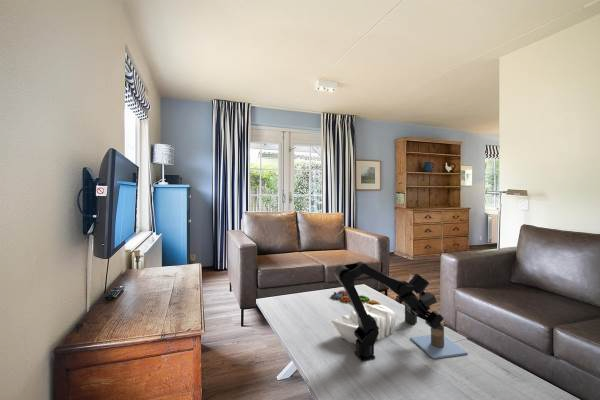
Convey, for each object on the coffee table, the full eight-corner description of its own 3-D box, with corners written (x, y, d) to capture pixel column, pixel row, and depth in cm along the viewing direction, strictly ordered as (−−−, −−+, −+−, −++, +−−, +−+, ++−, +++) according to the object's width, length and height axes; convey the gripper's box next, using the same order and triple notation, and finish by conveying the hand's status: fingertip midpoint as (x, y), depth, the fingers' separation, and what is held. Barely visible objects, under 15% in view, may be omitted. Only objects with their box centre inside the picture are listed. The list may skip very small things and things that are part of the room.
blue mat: (433, 359, 113) (433, 357, 113) (410, 339, 129) (410, 337, 129) (467, 354, 116) (467, 352, 116) (441, 335, 132) (441, 333, 132)
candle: (407, 319, 149) (407, 272, 149) (417, 321, 146) (417, 274, 145) (404, 322, 145) (404, 274, 145) (414, 325, 142) (414, 276, 141)
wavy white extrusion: (355, 353, 117) (354, 328, 117) (328, 337, 131) (328, 315, 131) (404, 329, 138) (404, 308, 138) (377, 317, 151) (377, 298, 151)
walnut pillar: (441, 349, 119) (441, 325, 118) (428, 344, 122) (428, 321, 122) (446, 344, 122) (446, 322, 122) (434, 340, 126) (433, 318, 126)
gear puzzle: (384, 304, 170) (384, 297, 170) (372, 312, 158) (372, 305, 158) (341, 292, 191) (341, 286, 191) (327, 299, 179) (327, 293, 179)
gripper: (439, 295, 111) (463, 320, 114) (411, 281, 130) (433, 302, 132) (421, 316, 110) (445, 341, 112) (396, 299, 128) (417, 320, 131)
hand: (435, 324), depth 122 cm, fingers open, 9 cm apart
